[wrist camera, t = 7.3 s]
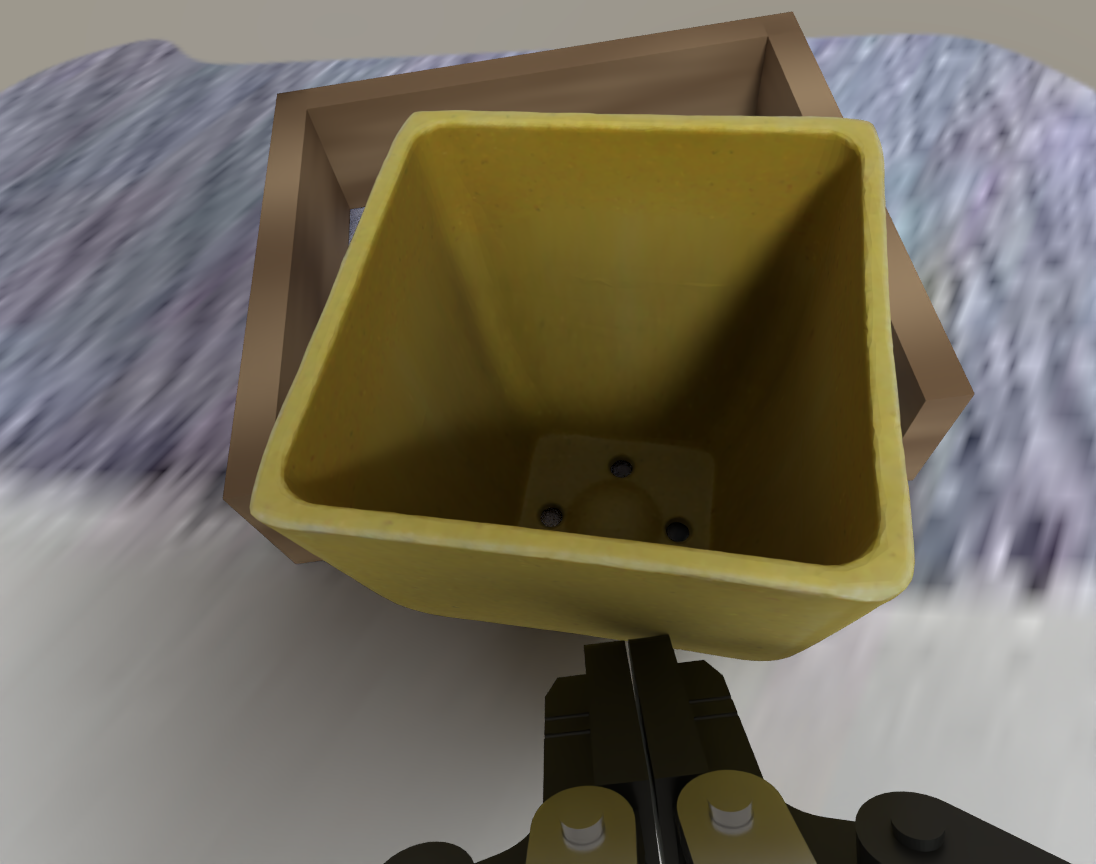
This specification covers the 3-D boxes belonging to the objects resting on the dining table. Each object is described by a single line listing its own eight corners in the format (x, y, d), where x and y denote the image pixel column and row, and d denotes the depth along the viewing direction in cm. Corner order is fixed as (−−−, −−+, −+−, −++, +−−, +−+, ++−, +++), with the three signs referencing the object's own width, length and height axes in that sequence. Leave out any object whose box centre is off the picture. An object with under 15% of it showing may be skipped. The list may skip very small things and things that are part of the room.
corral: (913, 480, 19) (974, 393, 15) (295, 564, 19) (222, 498, 16) (771, 124, 26) (792, 11, 23) (323, 193, 27) (277, 93, 23)
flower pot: (484, 369, 22) (403, 99, 14) (791, 394, 21) (884, 108, 13) (407, 671, 18) (231, 518, 10) (786, 731, 16) (922, 607, 9)
